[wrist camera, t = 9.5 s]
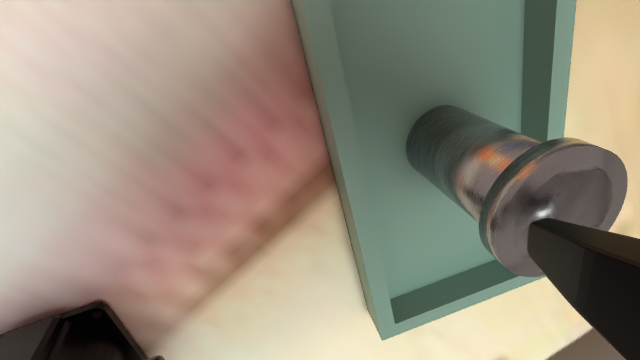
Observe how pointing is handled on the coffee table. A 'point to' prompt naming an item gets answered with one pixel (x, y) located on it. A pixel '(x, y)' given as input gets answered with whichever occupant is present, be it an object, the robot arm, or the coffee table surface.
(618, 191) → the grey flanged cylinder
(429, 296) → the tray
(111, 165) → the coffee table surface
